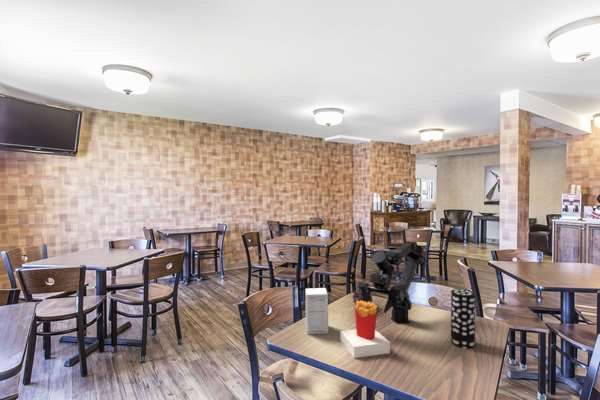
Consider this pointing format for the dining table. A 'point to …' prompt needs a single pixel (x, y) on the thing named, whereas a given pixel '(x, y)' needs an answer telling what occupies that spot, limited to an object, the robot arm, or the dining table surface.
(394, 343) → the dining table surface
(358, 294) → the pine cone
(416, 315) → the dining table surface
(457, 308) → the white-spotted black cylinder
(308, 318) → the supplement box
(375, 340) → the white flat square block
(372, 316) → the french fries
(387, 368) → the dining table surface
